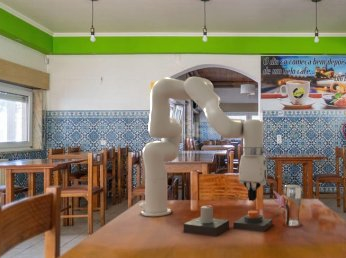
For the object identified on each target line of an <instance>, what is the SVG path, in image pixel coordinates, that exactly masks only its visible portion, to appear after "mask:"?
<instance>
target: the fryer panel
mask: <svg viewBox="0 0 346 258" xmlns="http://www.w3.org/2000/svg"><path fill="white" fill-rule="evenodd" d="M228 229H230V220H229V219H224V218H223V219H222V218H214V217H213V222H212V223H201V216H198V217H196V218H193V219H190V220H189V221H186V222H184V223H183V233H188V234H196V235H201V236H202V235H203V236H211V237H217V236H219V235H220V234H222V233H224V232H226V231H227V230H228Z"/></svg>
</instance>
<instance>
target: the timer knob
mask: <svg viewBox="0 0 346 258" xmlns="http://www.w3.org/2000/svg"><path fill="white" fill-rule="evenodd" d="M200 217H201V223H212V222H213V218H214V206H212V205H202V206H200Z"/></svg>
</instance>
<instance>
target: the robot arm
mask: <svg viewBox="0 0 346 258" xmlns="http://www.w3.org/2000/svg"><path fill="white" fill-rule="evenodd" d="M169 99H173V100H181V101H191V100H192V101H193V103H195V104H196V105H197V106H198V107H199V108H200V109H201V110H202V111H203V112H204V116H205V118H206V121H207V123H208V125H210V127H211V128H212V129H213V131H215V132H216V133H217V134H218V135H219V136H221V137H222V138H225V139H242V154H241V156H240V160H239V169H238V179H239V180H238V183H239V184H240V185H244V187H245V188H246V190H247V199H248V201H249V202H251V201H252V202H254V201H256V199H257V198H258V189H259V188H260V187H264V186H266V185H267V180H268V169H267V161H266V155H264V154H267V149H265V148H264V122H263V121H262V120H261V119H251V118H249V119H242V118H230V117H229V116H228V115H227V114H226V113H225V112H224V110H222V109H221V107H220V104H221V100H222V99H221V97H220V96H219V95H218V94H217V93H216V92H215V88H214V84H213V83H212V82H211V81H210V80H209V79H207V78H204V77H199V76H190V77H188V78H186V79H185V80H181V79H177V78H171V77H164V78H160V79H158V80H156V81H155V82H154V84H153V85H152V87H151V90H150V110H149V120H148V134H149V136H150V137H151V138H153V139H160V140H159V141H158V140H157V141H151V142H148V143H146V144H145V145H144V146H143V149H142V159H143V163H144V181H145V182H144V187H145V188H144V202H140V204H139V205H138V208H140V209H142V211H141V216H144V217H163V216H167V215H170V214H171V213H172V209H171V208H169V207H168V170H167V169H168V168H167V166H166V164H165V163H167V162H173V161H175V160H176V159H177V158H178V156H179V153H180V144H181V134H182V128H181V124H180V121H179V120H178V119H176V118H174V117H171V104H170V101H169Z"/></svg>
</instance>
